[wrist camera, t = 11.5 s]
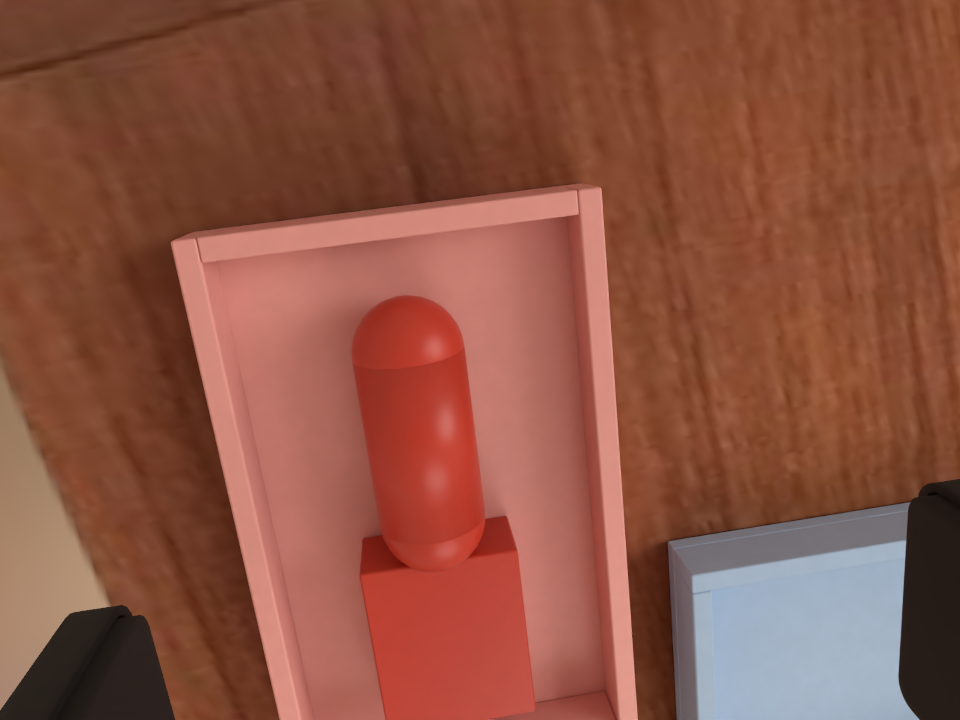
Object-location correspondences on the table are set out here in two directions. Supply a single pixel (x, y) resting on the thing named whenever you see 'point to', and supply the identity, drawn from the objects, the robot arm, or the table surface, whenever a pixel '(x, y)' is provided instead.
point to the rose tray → (496, 412)
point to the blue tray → (791, 619)
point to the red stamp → (434, 529)
